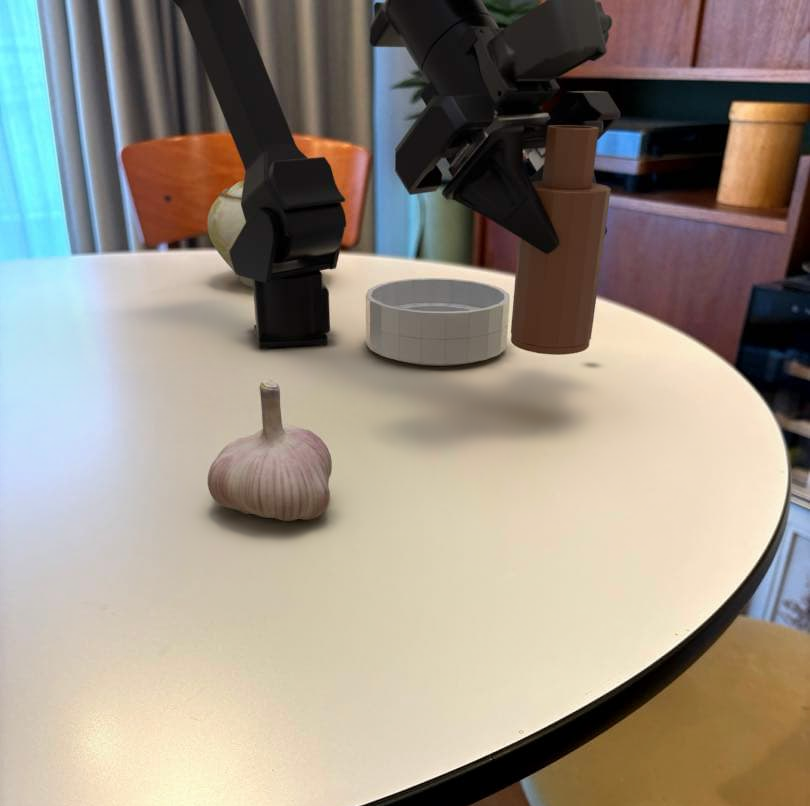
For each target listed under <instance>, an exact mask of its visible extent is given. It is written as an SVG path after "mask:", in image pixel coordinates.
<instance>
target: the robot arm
mask: <svg viewBox="0 0 810 806" xmlns="http://www.w3.org/2000/svg"><path fill="white" fill-rule="evenodd" d="M170 1H171V2H172V3H173V4H174V5H175V6H177V7H178V9H179V10H180V12H181V14H182V16H183V19H184V21H185V23H186V26H187V28H188V31H189V33H190V36H191V38H192V41H193V44H194V46H195V48H196V51H197V53H198V56H199V58H200V60H201V63H202V65H203V68H204V71H205V73H206V76H207V78H208V80H209V83H210V85H211V88H212V90H213V93H214V96H215V99H216V100H217V103H218V105H219V107H220V110H221V113H222V115H223V118H224V121H225V122H226V123H225V124H226V125H227V128H228V130H229V133H230V135H231V138H232V140H233V142H234V146H235V148H236V150H237V153H238V155H239V158H240V160H241V162H242V165H243V169H244V177H243V181H244V185H243V191H242V198H241V207H242V211H243V214H244V217H245V221H246V223H245V225H244V226H243V228H242V230H241V232H240V233H239V235H238V237H237V239H236V240H235V242H234V244H233V246H232V247H231V249H230V252H229V253H230V257H231V261H232V264H233V268H234V271H235V272H234V271H233V272H234V274H235V275H236V276H237V275H238V276H242V277H246V278H250V279H252V282H253V287H252V295H253V307H254V317H255V318H254V319H255V324H254V325H253V331H254V335H255V338H256V341H257V344H258V347H259V348H276V347H279V348H280V347H293V346H294V347H295V346H296V347H297V346H310V345H311V346H312V345H325V344H328V343H329V337H328V335H327V334H328V333H330V332H331V319H330V317H331V315H330V291H329V288H328V287H327V286H326V284H325V283H323V273H322V271H325V270H326V271H327V270H335V269H337V267H338V266H337V265H338V261H339V257H340V254H341V248H342V243H343V239H344V235H345V230H346V228H347V218H346V214H345V209H344V207H343V205H342V203H345V202H346V198H345V197H344V195H343V194H342V192H340V189H339V187H338V185H337V183H336V180H335V177H334V172H333V169H332V166H331V164H330V162H329V161H328V160H327V158H326V157H324V156H318V157H308V156H307V155H305V154H304V153H303V152H302V151H301V150H300V149H299V147H298V146H297V144H296V141H295V139H294V136H293V134H292V131H291V129H290V127H289V124H288V121H287V119H286V116H285V113H284V111H283V108H282V106H281V103H280V101H279V98H278V96H277V94H276V90H275V88H274V86H273V83H272V80H271V77H270V75H269V73H268V70H267V67H266V64H265V63H264V60H263V58H262V55H261V53H260V51H259V50H260V49H259V47H258V45H257V43H256V39H255V37H254V34H253V33H252V30H251V27H250V25H249V22H248V20H247V17H246V15H245V11H244V9H243V7H242V5H241V1H240V0H170ZM370 25H371V26H370V28H369V45H370V46H371V47H373V48H405V49H406V51H407V52H408V54H409V56H411V59H412V61H413V62H414V63H415V66H416V67H417V69H418V71H419V72H420V73H421V75H422V76H423V79H424V80H425V82H426V83H427V85H426V86H425V87H424V89H423V90H422V91H421V93H420V94H419V97H420V98H421V100H422V101H423V103H424V104H425V107H424V109H423V110H422V111H421V112H420V114H419V116H418V117H417V118H416V119H415V121H414V123H413V124H412V125H411V127H410V128H408V130H407V132H406V133H405V135H404V136H403V137H402V139H401V140H400V142H399V143H398V144H397V146H396V147H395V149H394V150H395V151H394V171H395V173H396V175H397V177H398V179H399V180H400V182H401V183H402V185H403V187H404V188H405V190H406V192H407V193H408V195H409V196H412V195H421V194H427V193H433V192H437V191H438V189H439V188H440V187H441V186H442V181H443V172H442V171H441V169H440V168H439V166H438V163H440V161H441V160H442V159H445V160H446V161H447V163H448V165H449V167H448V169H447V170H448V172H449V173H450V175H451V177H452V178H451V180H449V182H448V183H447V184H446V186H445V187H444V188H443V189H442V191H441V195H442V196H443V198H444V199H445V200H448V201H449V200H452V201H455V202H457V203H459V204H461V205H462V206H464V207H466V208H468V209H469V210H472V211H473V212H475V213H477V214H479V215H481V216H482V217H485V218H486V219H487V220H490V221H491V222H493V223H495V224H496V225H498V226H500V227H502V228H503V229H505V230H506V231H508V232H509V233H511V234H513V235H515V236H516V237H518V239H519V238H521V239H523V240H524V241H526V242H527V243H529V244H531V245H532V246H534V247H535V248H537V249H539V250H540V251H542V252H544V253H545V254H548V253H551V252H552V251H553V250H554V249H555V248H556V247H558V245H559V239H558V237H557V235H556V232H555V230H554V227H553V225H552V223H551V220H550V218H549V216H548V214H547V212H546V210H545V208H544V206H543V204H542V202H541V200H540V198H539V196H538V194H537V192H536V190H535V188H534V186H533V184H532V182H535V181H542V180H543V169H544V158H545V148H546V137H547V127H548V126H550V125H580V126H593V127H598V129H599V130H598V139H597V142H598V140H600V138H602V137H603V136H604V135H605V134H606V133H607V131H609V130H610V129H611V128H612V126H613V125H615V123H617V121H618V120H619V119H620V118H621V117H620V116H621V114H622V113H621V112H620V110H619V107H618V106H617V105H616V103H615V102H614V99H612V97H611V94H609V92H608V91H600V90H597V91H596V90H581V91H580V90H576V91H566V92H565V93H564V94H563V95H562V96H561V97H560V99H559V100H558V101H557V102H556V103H555V104H554V105H553V106H552V108H551V109H550V110H549V111H548V112H543V109H542V108H541V107H542V105H543V104H544V103H546V102H547V103H548V102H550V100H551V99H552V98H553V97H554V96H555V95H556V94H557V92H558V91H559V90H560V89H561V87H560V85H559V84H558V82H557V81H556V79H558V78H560V77H563V76H564V75H565V74H567V73H569V72H571V71H572V70H574V69H577V68H578V67H580V66H582V65H583V64H585V63H587V62H589V61H591V62H596V61H597V60H599V59H601V58H602V57H604V56H605V55H606V54H607V52H608V50H607V42H608V41H609V37H610V33H609V31H610V30H611V28H612V25H613V19H612V17H611V16H610V15H609V14H606V12H605V11H604V8H603V6H602V2H601V1H596V0H545V1H543V2H542V3H541V4H540V3H539V5H537V6H535V7H534V8H532V9H531V10H529V11H528V12H527V13H525V14H524V15H522V16H520V17H519V18H517V19H516V20H514V21H513V22H512V23H509V24H507V26H505V27H499V26H498V25H497V23H496V21H495V19H494V18H493V17H492V15H491V14H490V11H488V9H487V7H486V6H485V4H484V1H482V0H385V1H384V2H383V1H382V2H381V1H376V2H375V3H374V4H373V18H372V22H371V24H370ZM524 158H525V159H526V161H527V162H528V165H529V166H530V167H531V169H533V171H535V172H534V174H532V176H531V177H530V176H529V174H528V172H527V170H526V168H525V166H524ZM592 183H596V184H597V179H596V176H595V170H594V171H593V179H592ZM607 233H608V227H607V226H606V229H605V236H606V235H607ZM238 276H237V277H238Z"/></svg>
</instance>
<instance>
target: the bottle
mask: <svg viewBox="0 0 810 806" xmlns="http://www.w3.org/2000/svg"><path fill="white" fill-rule="evenodd" d="M598 130H599V129H598V127H593V126H580V125H550V126H548V127H547V137H546V148H545V158H544V169H543V180H542V181H535V182H532V184H533V186H534V188H535V190H536V192H537V194H538V196H539V198H540V200H541V202H542V204H543V206H544V208H545V210H546V212H547V214H548V216H549V218H550V220H551V223H552V225H553V227H554V230H555V232H556V235H557V237H558V239H559V245H558V247H556V248H555V249H554V250H553V251H552V252H551V253H548V254H545V253H544V252H542V251H540V250H539V249H537V248H535V247H534V246H532V245H531V244H529V243H527V242H526V241H524V240H523V239H521V238H519V237H518V240H517V251H516V252H517V253H516V254H517V255H516V265H515V277H514V288H513V301H512V311H511V312H512V313H511V314H512V315H511V324H510V334H511V335H510V342H511V343H512V345H513V346H514V347H516V348H518V349H521V350H523V351H526V352H530V353H534V354H535V353H536V354H541V355H553V356H554V355H555V356H557V355H562V356H563V355H572V354H573V355H574V354H577V353H581V352H584V351H586V350H588V348H589V347H590V342H591V339H592V333H593V325H594V319H595V312H596V303H597V295H598V288H599V283H600V282H599V281H600V273H601V266H602V259H603V250H604V243H605V236H606V235H605V229H606V227H607V221H608V220H607V219H608V214H609V206H610V198H611V193H612V188H611V187H610V186H608V185H605V184H600V183H597V182H596V183H592V179H593V171H594V172H595V170H594V169H595V162H596V154H597V145H598V141H597V139H598ZM598 140H599V139H598Z"/></svg>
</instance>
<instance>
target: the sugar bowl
mask: <svg viewBox="0 0 810 806" xmlns="http://www.w3.org/2000/svg"><path fill="white" fill-rule="evenodd" d="M243 185H244V180H241V181H239V182H237V183H235V184H234V185H232V186H230V187H226V188H225V189H222V190H221V192H220V193H219V196H218V197H217V198H216V199H215V201H213V203H212V205H211V207H210V209H209V211H208V214H207V222H206V223H207V224H206V225H207V233H208V236H209V238H210V242H211V244H212V245H213V247H214V248H215V250H216V251H217V253H218V254H219V256H220V257H221V259H223V260H224V262H225V263H226V264H227V265H228V266H229V268H230V269H231V270H232V271H233V272H234V273H235V271H234V268H233V264H232V261H231V257H230V253H229V252H230V249H231V247H232V246H233V244H234V242H235V240H236V239H237V237H238V235H239V233H240V232H241V230H242V228H243V226H244V225H245V223H246V221H245V217H244V214H243V211H242V207H241V198H242V191H243ZM236 276H237V277H238V278H239V280H240V282H241V283H242V284H243V285H245V286H247V287H250V288H253V282H252V279H250V278H246V277H242V276H238V275H236Z"/></svg>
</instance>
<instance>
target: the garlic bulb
mask: <svg viewBox="0 0 810 806" xmlns="http://www.w3.org/2000/svg"><path fill="white" fill-rule="evenodd" d="M259 395H260V406H261V421H262V428H261V429H260V430H258V431H257V432H255V433H254V434H251V435H248V436H244V437H243V436H242V437H239V438H237V439H235V440H234V441H232V442H230V443H228V444H227V445H225V447H223V449H222V450H221V451H219V454H218V455H217V457H216V458H215V459H214V461H213V462H212V463H211V465H210V468H209V470H208V474H207V488H208V492H209V494H210V496H211V497H212V498H213V500H214V501H215V502H216V503H217V504H218V505H220V506H222V507H224V508H228V509H230V510H231V509H232V510H236V511H237V512H241V513H243V515H245V514H247V515H249V514H253V515H256V516H258V517H260V518H272V519H277V520H280V521H283V522H286V521H287V522H290V521H296V520H303V521H307V520H308V521H311V520H313V519H316V518H317V517H320V516H321V515H323V513H324V512H325V511H326V509H327V508H328V506H329V504H330V499H331V497H330V496H331V493H330V487H329V485H330V484H329V482H330V478H331V475H332V469H333V461H332V456H331V452H330V450H329V447H327V444H326V443H325V442H324V441H323V439H322V438H321V437H320V436H318V435H317V434H316V433H314V432H313V431H311V430H310V429H305V428H302V427H298V426H294V425H291V424H289V423H283V420H282V419H283V418H282V408H281V389H280V386H279V384H278V382H274V381H272V380H262V381H260V383H259Z"/></svg>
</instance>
